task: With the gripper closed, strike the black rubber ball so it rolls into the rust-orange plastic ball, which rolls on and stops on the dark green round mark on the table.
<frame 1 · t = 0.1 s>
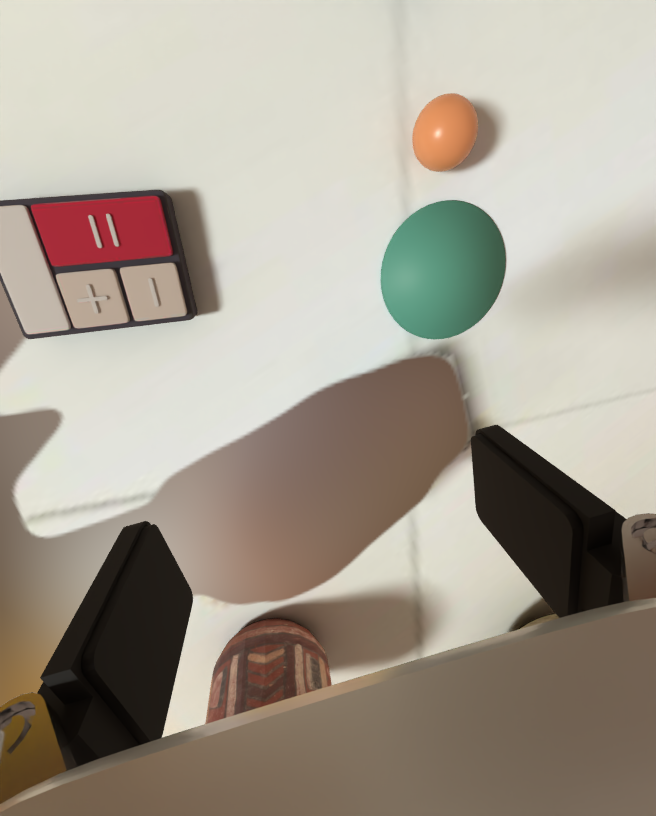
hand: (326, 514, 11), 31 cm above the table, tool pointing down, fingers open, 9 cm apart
calculator: (107, 266, 35), on the table
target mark: (443, 274, 39), on the table
pottery: (272, 643, 57), on the table
ball B: (444, 134, 32), on the table
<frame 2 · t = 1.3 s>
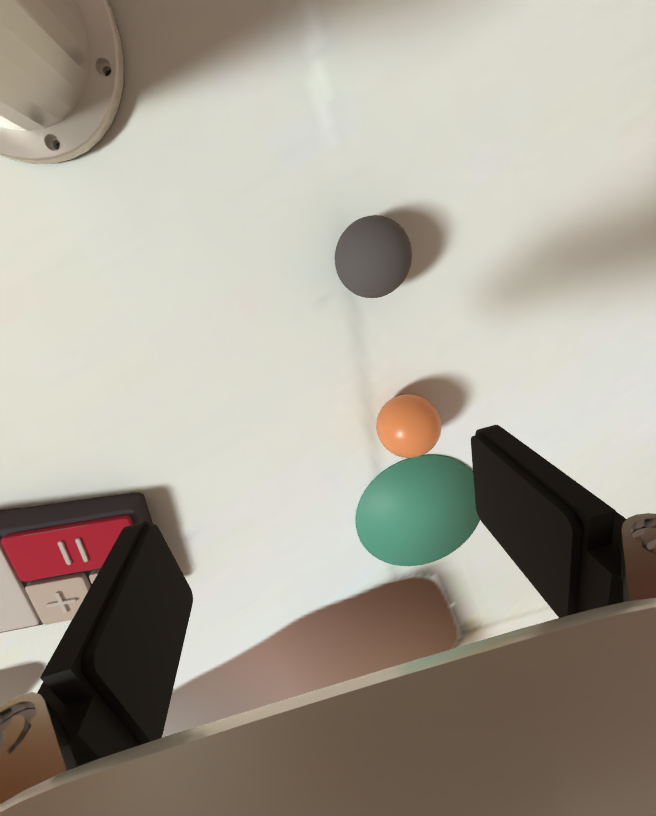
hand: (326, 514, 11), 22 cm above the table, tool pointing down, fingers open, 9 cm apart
calculator: (80, 545, 36), on the table
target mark: (420, 513, 39), on the table
ball A: (372, 258, 26), on the table
ball B: (408, 425, 32), on the table
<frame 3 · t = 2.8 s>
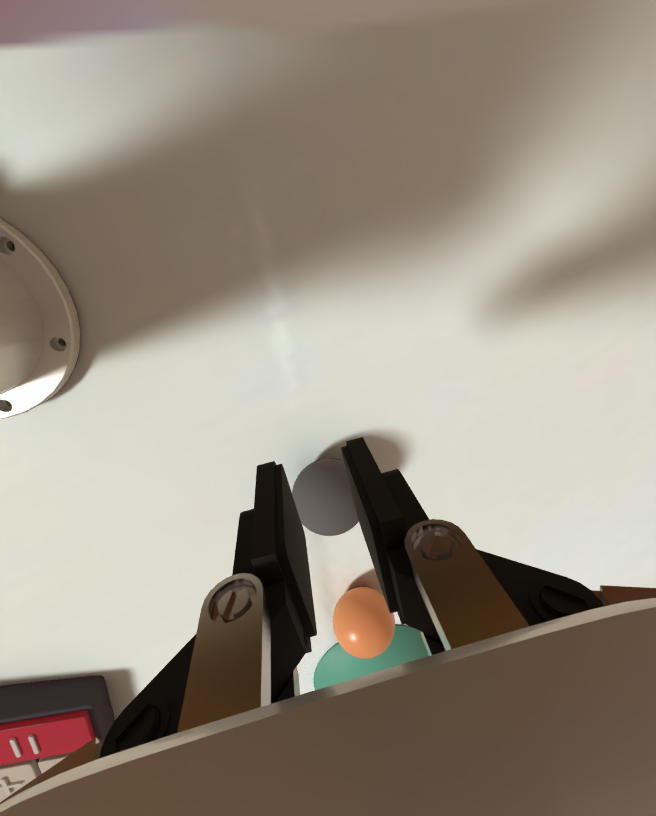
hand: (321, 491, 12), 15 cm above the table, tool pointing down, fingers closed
calculator: (32, 713, 35), on the table
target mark: (377, 670, 40), on the table
ball A: (329, 496, 27), on the table
ball B: (363, 621, 32), on the table
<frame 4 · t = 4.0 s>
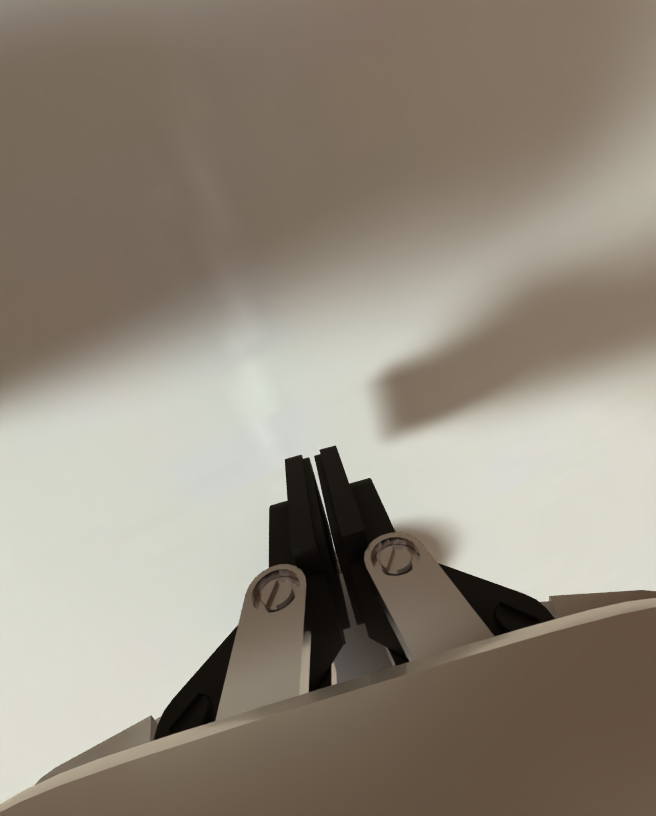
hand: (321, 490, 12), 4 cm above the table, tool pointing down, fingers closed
ball A: (339, 640, 16), on the table
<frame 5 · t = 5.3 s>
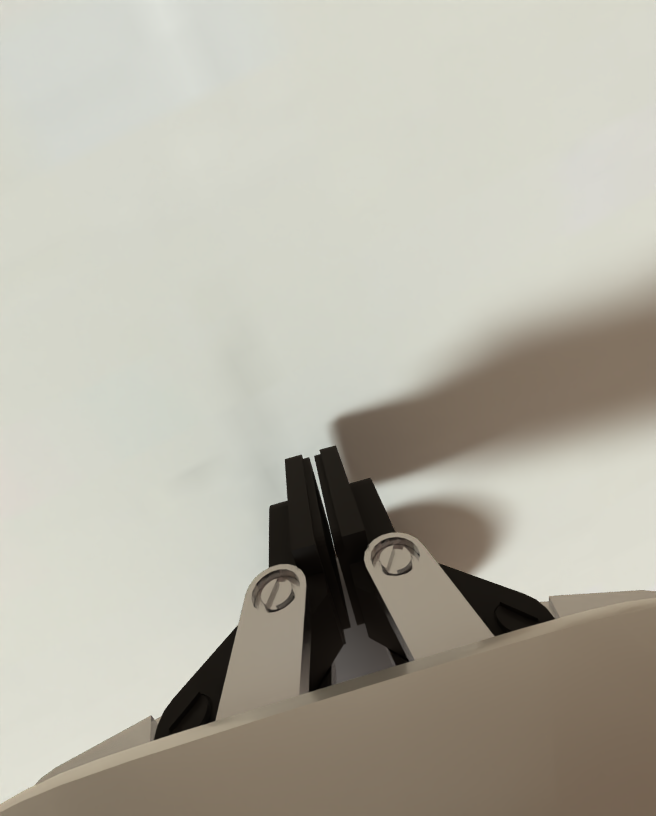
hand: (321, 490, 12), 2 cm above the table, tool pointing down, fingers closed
ball A: (360, 637, 13), on the table
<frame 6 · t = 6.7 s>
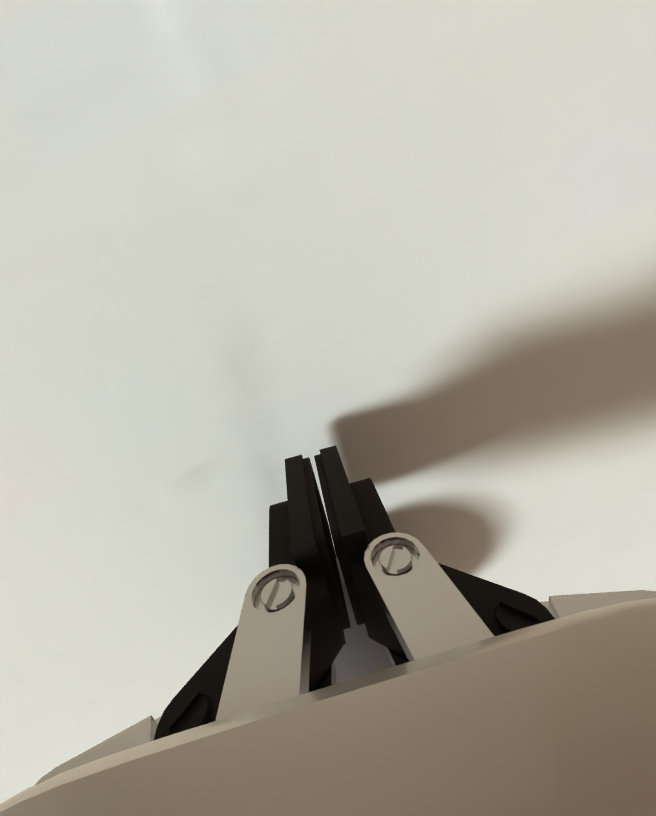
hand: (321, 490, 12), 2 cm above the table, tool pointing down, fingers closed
ball A: (361, 639, 13), on the table
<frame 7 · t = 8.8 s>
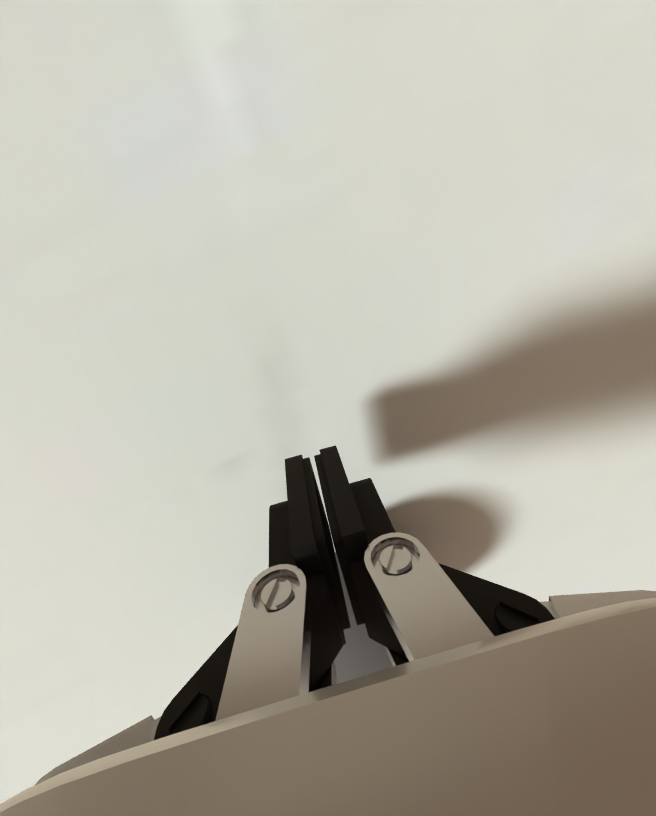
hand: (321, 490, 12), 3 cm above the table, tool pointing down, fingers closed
ball A: (374, 614, 14), on the table
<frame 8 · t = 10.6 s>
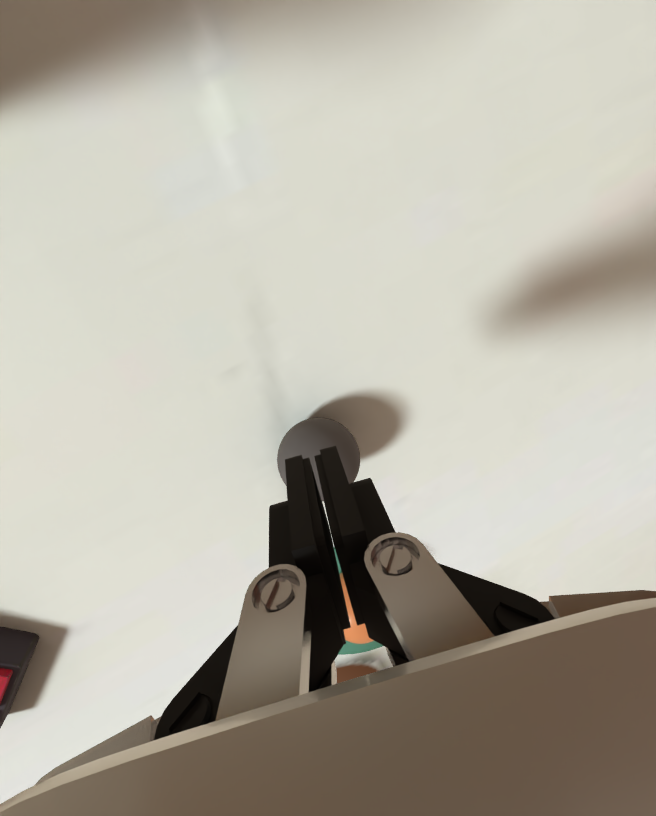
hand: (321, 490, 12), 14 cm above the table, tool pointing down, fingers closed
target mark: (358, 600, 34), on the table
ball A: (318, 458, 24), on the table
ball B: (358, 604, 30), on the table
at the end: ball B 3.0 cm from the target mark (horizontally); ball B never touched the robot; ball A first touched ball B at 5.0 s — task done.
